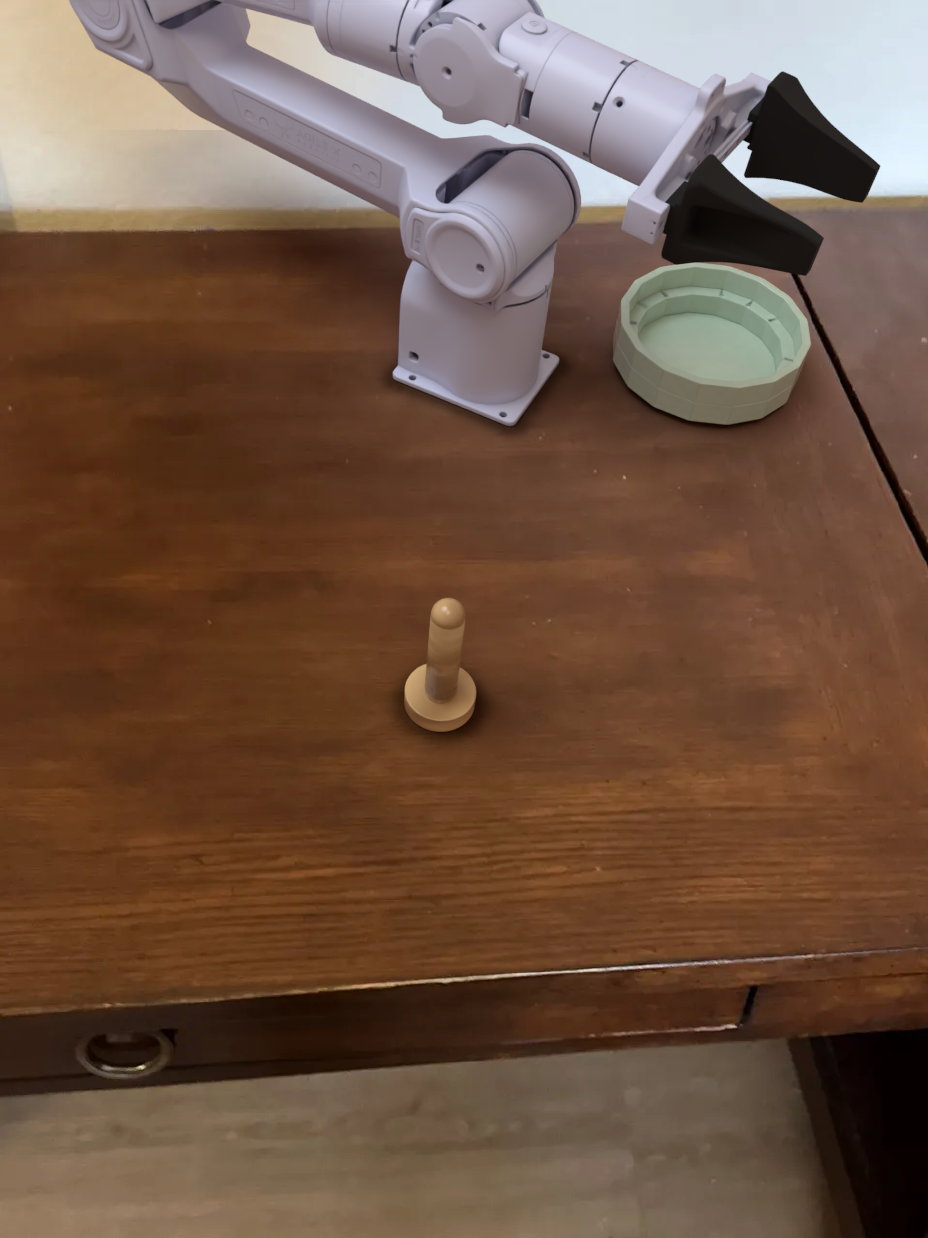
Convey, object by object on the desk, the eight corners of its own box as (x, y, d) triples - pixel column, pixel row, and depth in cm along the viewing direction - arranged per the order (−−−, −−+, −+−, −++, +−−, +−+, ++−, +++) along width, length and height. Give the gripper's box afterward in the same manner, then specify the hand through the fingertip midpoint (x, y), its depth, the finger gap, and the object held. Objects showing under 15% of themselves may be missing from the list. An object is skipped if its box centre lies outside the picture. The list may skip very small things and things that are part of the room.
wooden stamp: (391, 713, 68) (395, 615, 61) (425, 662, 70) (432, 562, 63) (454, 743, 67) (466, 648, 60) (486, 691, 69) (501, 593, 62)
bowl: (582, 386, 85) (591, 341, 82) (651, 285, 93) (662, 241, 89) (759, 456, 82) (775, 412, 79) (816, 346, 90) (833, 302, 86)
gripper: (563, 107, 59) (814, 225, 56) (696, -12, 66) (924, 86, 63) (541, 226, 65) (767, 339, 62) (666, 105, 72) (873, 200, 69)
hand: (844, 219), depth 63 cm, fingers open, 7 cm apart
